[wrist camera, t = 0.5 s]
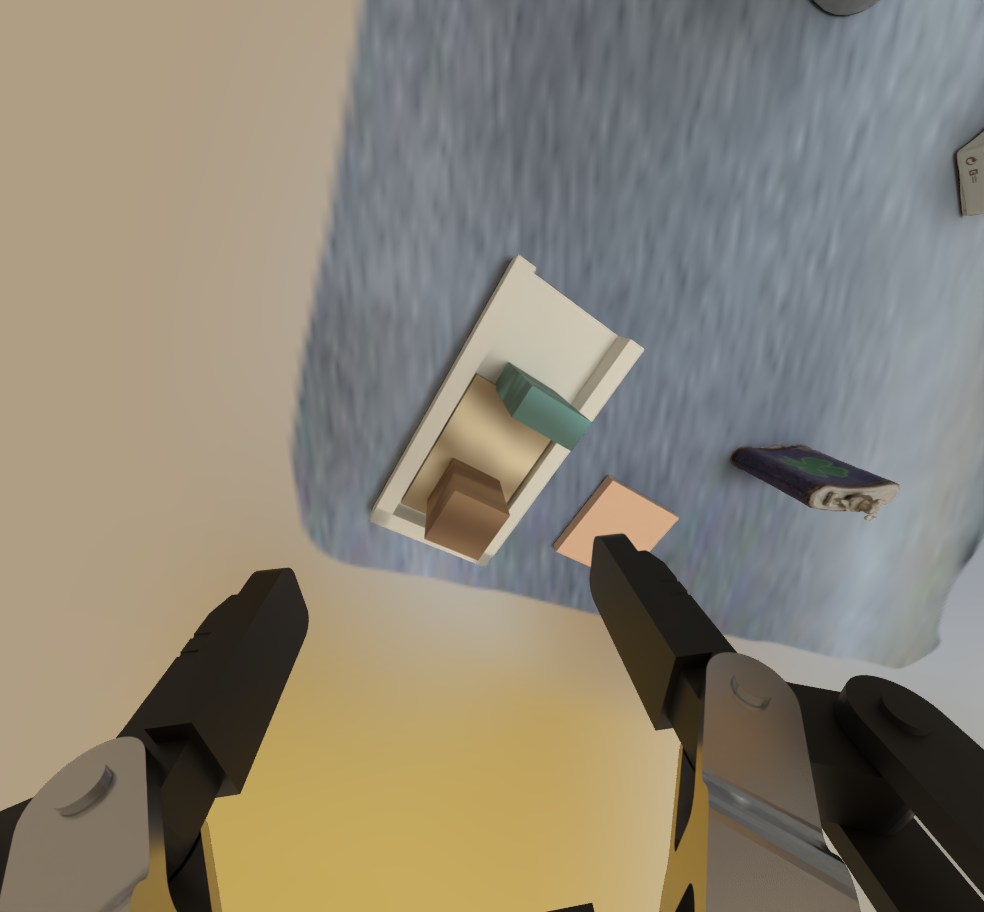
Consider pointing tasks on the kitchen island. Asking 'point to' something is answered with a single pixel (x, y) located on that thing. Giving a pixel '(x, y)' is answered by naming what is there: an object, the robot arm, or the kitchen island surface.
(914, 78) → the kitchen island surface
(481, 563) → the cream tray
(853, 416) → the kitchen island surface
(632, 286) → the kitchen island surface
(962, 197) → the skincare box
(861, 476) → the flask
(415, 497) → the l-shaped stand
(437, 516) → the block
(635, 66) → the kitchen island surface
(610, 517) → the plate
